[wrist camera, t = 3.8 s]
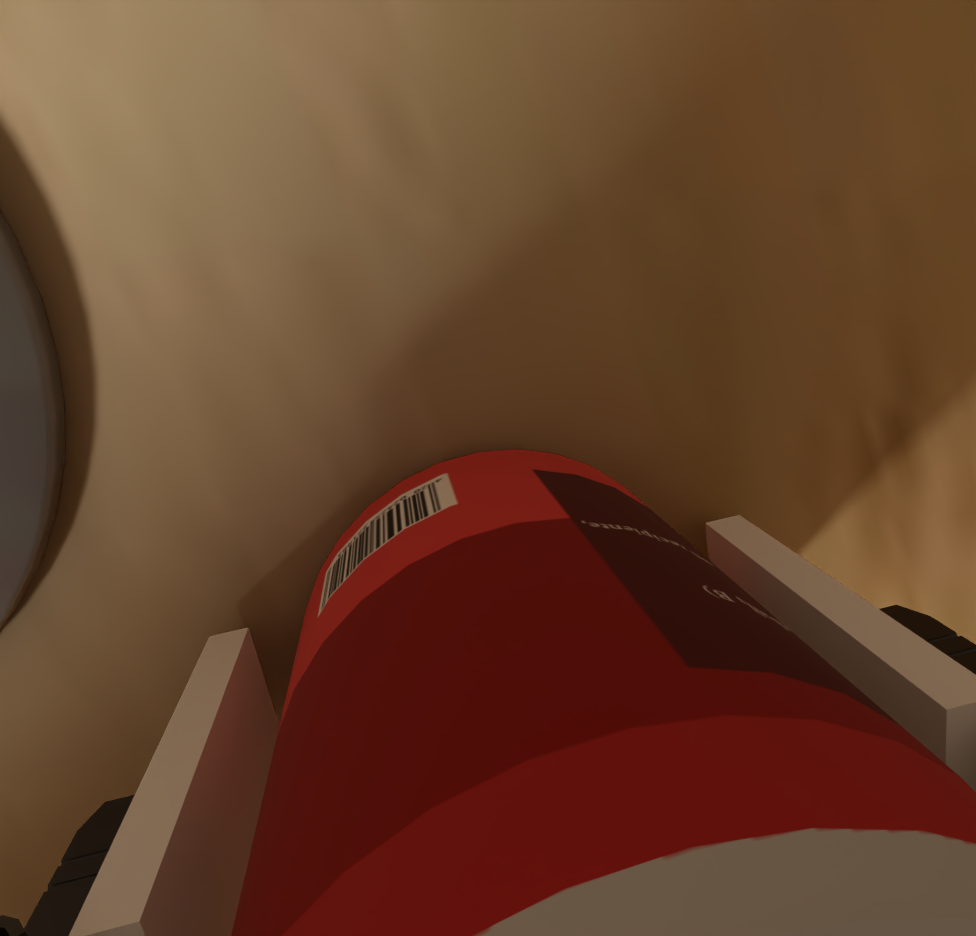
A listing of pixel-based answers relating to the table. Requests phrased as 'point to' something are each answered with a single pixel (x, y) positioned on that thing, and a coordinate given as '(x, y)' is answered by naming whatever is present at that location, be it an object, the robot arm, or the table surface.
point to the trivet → (26, 425)
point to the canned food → (581, 739)
